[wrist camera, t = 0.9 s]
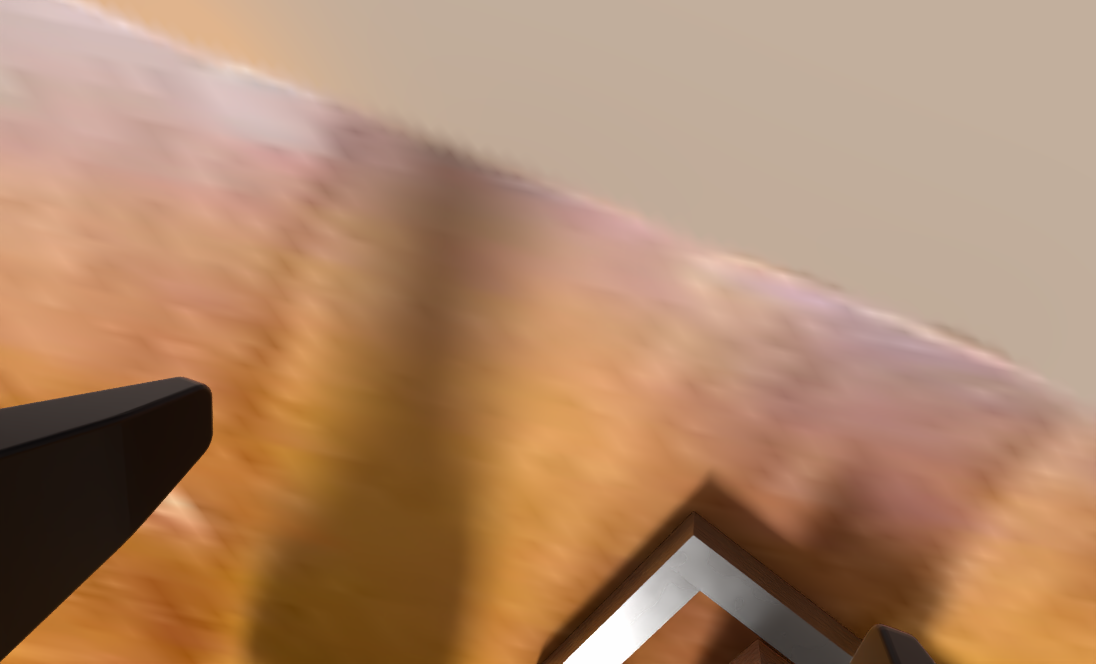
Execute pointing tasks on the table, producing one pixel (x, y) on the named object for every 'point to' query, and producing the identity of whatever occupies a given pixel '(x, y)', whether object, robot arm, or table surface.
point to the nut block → (759, 655)
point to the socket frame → (727, 579)
